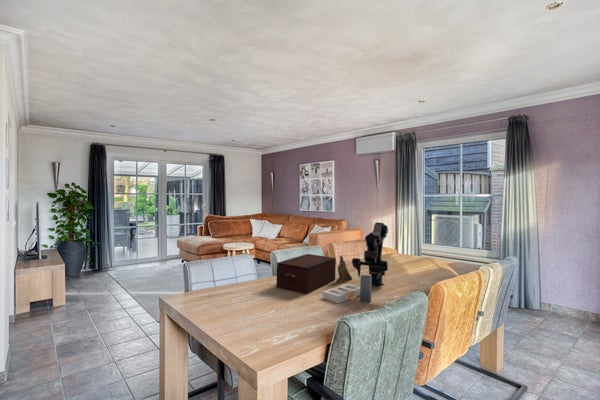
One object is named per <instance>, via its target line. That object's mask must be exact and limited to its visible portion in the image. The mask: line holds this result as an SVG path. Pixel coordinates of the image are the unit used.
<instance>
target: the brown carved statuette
mask: <svg viewBox="0 0 600 400" xmlns="http://www.w3.org/2000/svg"><path fill="white" fill-rule="evenodd" d="M337 272H338V276H339V277H338V278H336V279H335V281H336V283H341V284H344V283H346V282H350V281H353V277H352V275H351V274H350V271H349V269H348V268H347V265H346V262H345V260H344V256H342V255H340V256H339V265H338V267H337Z"/></svg>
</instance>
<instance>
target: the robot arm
mask: <svg viewBox="0 0 600 400" xmlns="http://www.w3.org/2000/svg"><path fill="white" fill-rule="evenodd" d="M388 233H389V228H388V225H386V224H384V222H375V223H374V224H373V231H372V232H369V234H367V235H366V236H365V237H364V239H365V245H366V250H364V253H363V258H364V259H363V261H362V260H361V258H358V257H353V258H352V259H351V264H352V267H353V268H354V269H355V270H357V275H358V278H361V271H362V270H361V269H362V268H361V267H362V266H368V275H370V276H372V277H371V286H375V287H379V286H384V285H385V283H383V276H385V275H386V272H388V271H389V263H388V261H387V260H382V254H383V246H384V240H385V239H386V238H387V237H388V236H387V234H388Z"/></svg>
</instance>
